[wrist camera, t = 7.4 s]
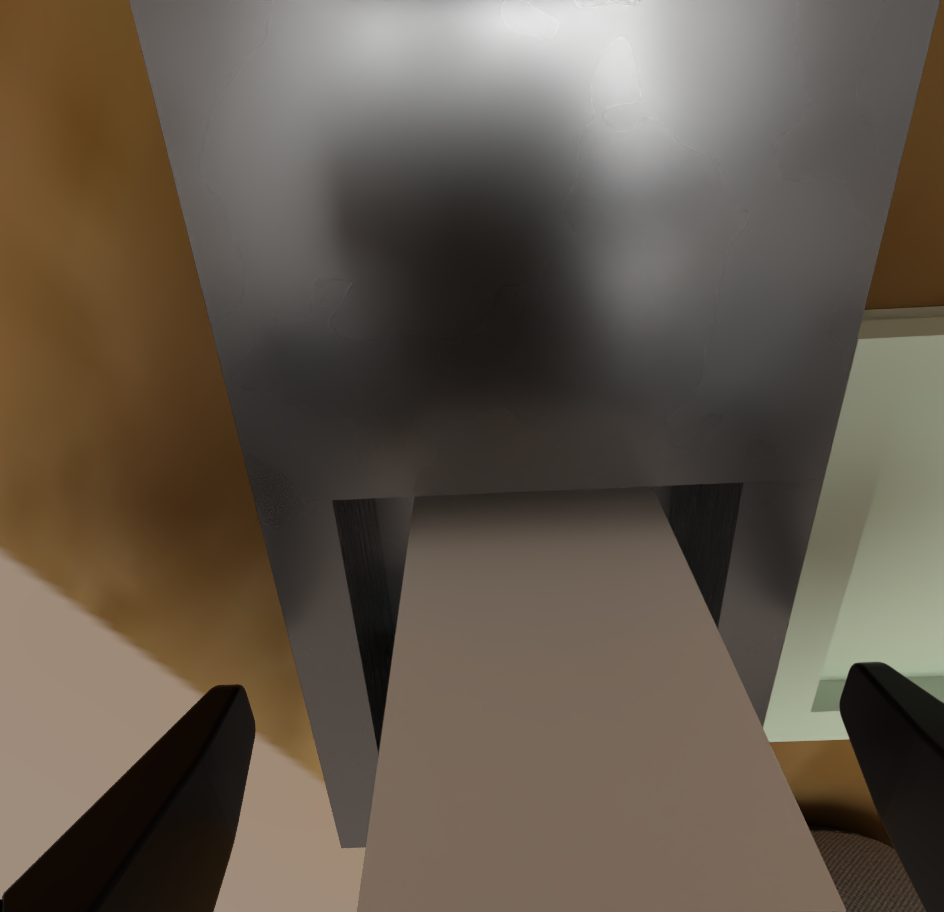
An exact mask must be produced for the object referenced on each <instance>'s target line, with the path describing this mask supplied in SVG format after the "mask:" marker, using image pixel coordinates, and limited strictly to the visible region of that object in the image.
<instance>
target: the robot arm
mask: <svg viewBox="0 0 944 912" xmlns="http://www.w3.org/2000/svg"><path fill="white" fill-rule="evenodd" d="M839 708H840V714H841V718H842V721H843V723H844V726H845V729H846V731H847V734H848V736H849V739H850V742H851V744H852V747H853V750H854V752H855V755H856V758H857V760H858V763H859V765H860V768H861V771H862V773H863V776H864V779H865V781H866V784H867V787H868V789H869V792H870V794H871V797H872V800H873V802H874V805H875V807H876V810H877V812H878V815H879V817H880V819H881V822H882V824H883V826H884V828H885V830H886V832H887V835H888V837H889V839H890V841H891V843H892V845H893V847H894V849H895V851H896V853H897V855H898V857H899V859H900V861H901V863H902V865H903V867H904V869H905V871H906V873H907V875H908V877H909V879H910V881H911V883H912V885H913V887H914V889H915V891H916V893H917V895H918V897H919V899H920V901H921V903H922V905H923V907H924V909H925V911H926V912H944V703H943V702H942V701H940V700H939V699H937V698H936V697H934V696H933V695H931V694H930V693H928V692H927V691H926V690H924V689H923V688H921V687H920V686H918V685H917V684H915V683H914V682H912V681H911V680H910V679H908V678H907V677H905V676H904V675H902V674H901V673H899V672H898V671H896V670H895V669H894V668H892V667H891V666H889V665H887V664H885V663H882V662H858V663H854V664H853V665H852V666H851V667H850V669H849V672H848V676H847V679H846V682H845V685H844V688H843V691H842V694H841V697H840V702H839ZM254 739H255V720H254V716H253V713H252V710H251V707H250V703H249V700H248V697H247V694H246V691H245V689H244V687H243V686H241V685H238V684H236V685H217V686H215V687H213V688H211V689H210V690H209V691H208V692H207V693H206V694H205V695H204V696H203V697H202V698H201V699H200V700H199V701H198V702H197V703H196V704H195V705H194V706H193V707H192V708H191V709H190V710H189V711H188V712H187V713H186V714H185V715H184V716H183V717H182V718H181V719H180V720H179V721H178V722H177V723H176V724H175V725H174V726H173V727H172V728H171V729H170V730H169V731H168V732H167V733H166V734H165V735H164V736H162V738H160V739H159V740H158V741H157V742H156V743H155V744H154V745H153V746H152V747H151V749H149V750H148V751H147V752H146V753H145V755H143V756H142V757H141V758H140V759H139V760H138V761H137V762H136V763H135V764H134V765H133V766H132V767H131V768H130V769H129V770H128V771H127V772H126V773H125V774H124V775H123V776H122V777H121V778H120V779H119V780H118V781H117V782H116V783H115V784H114V785H113V786H112V787H111V788H110V789H109V790H108V791H107V792H106V793H105V794H104V795H103V796H102V797H101V798H100V799H99V800H98V801H97V802H96V803H95V804H94V805H93V806H92V807H91V808H90V809H89V810H88V811H87V812H85V813H84V814H83V815H82V816H81V817H80V818H79V819H78V820H77V821H76V822H75V823H74V824H73V825H72V826H71V827H70V828H69V829H68V830H67V831H66V832H65V833H64V834H63V835H62V836H61V837H60V838H59V839H58V840H57V841H56V842H55V843H54V844H53V845H52V846H51V847H50V848H49V849H48V850H47V851H46V852H45V853H44V854H43V855H42V856H41V857H40V858H39V859H38V860H37V861H36V862H35V863H34V864H33V865H32V866H31V867H30V868H29V869H28V870H27V871H26V872H25V873H24V874H23V875H22V876H21V877H20V878H19V879H18V880H17V881H16V882H15V883H14V884H13V885H12V886H10V888H8V890H7V891H5V892H4V894H3V896H2V900H1V899H0V912H213V911H214V908H215V905H216V901H217V898H218V895H219V891H220V888H221V885H222V881H223V878H224V875H225V872H226V868H227V865H228V862H229V859H230V855H231V851H232V847H233V844H234V840H235V836H236V831H237V826H238V822H239V816H240V811H241V806H242V801H243V796H244V791H245V785H246V780H247V775H248V770H249V765H250V760H251V755H252V749H253V744H254Z"/></svg>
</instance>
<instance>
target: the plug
mask: <svg viewBox="0 0 944 912" xmlns="http://www.w3.org/2000/svg"><path fill="white" fill-rule="evenodd" d="M357 912H846V909H845V906H844V904H843V902H842V900H841V898H840V895H839V893H838V891H837V889H836V887H835V884H834V882H833V880H832V878H831V876H830V874H829V871H828V869H827V867H826V865H825V863H824V860H823V858H822V856H821V854H820V852H819V850H818V847H817V845H816V843H815V841H814V839H813V836H812V834H811V832H810V830H809V828H808V826H807V823H806V821H805V819H804V817H803V815H802V812H801V810H800V808H799V806H798V804H797V801H796V799H795V797H794V795H793V793H792V791H791V788H790V786H789V784H788V782H787V780H786V777H785V775H784V773H783V771H782V769H781V767H780V764H779V762H778V760H777V758H776V756H775V753H774V751H773V749H772V747H771V745H770V743H769V740H768V738H767V736H766V734H765V732H764V729H763V727H762V725H761V723H760V721H759V718H758V716H757V714H756V712H755V710H754V708H753V705H752V703H751V701H750V699H749V697H748V694H747V692H746V690H745V688H744V686H743V684H742V681H741V679H740V677H739V675H738V673H737V670H736V668H735V666H734V664H733V662H732V660H731V657H730V655H729V653H728V651H727V649H726V646H725V644H724V642H723V640H722V638H721V636H720V633H719V631H718V629H717V627H716V625H715V622H714V620H713V618H712V616H711V614H710V611H709V609H708V607H707V605H706V603H705V601H704V598H703V596H702V594H701V592H700V590H699V587H698V585H697V583H696V581H695V579H694V577H693V574H692V572H691V570H690V568H689V566H688V563H687V561H686V559H685V557H684V555H683V553H682V550H681V548H680V546H679V544H678V542H677V539H676V537H675V535H674V533H673V531H672V528H671V526H670V524H669V522H668V520H667V518H666V515H665V513H664V511H663V509H662V507H661V504H660V502H659V500H658V498H657V496H656V494H655V491H654V489H653V487H652V486H650V487H627V488H603V489H580V490H557V491H534V492H511V493H487V494H464V495H441V496H418V497H414V504H413V511H412V518H411V526H410V533H409V540H408V547H407V554H406V562H405V569H404V576H403V583H402V590H401V598H400V605H399V612H398V619H397V627H396V634H395V641H394V648H393V655H392V663H391V670H390V677H389V684H388V691H387V699H386V706H385V713H384V720H383V727H382V735H381V742H380V749H379V756H378V764H377V771H376V778H375V785H374V792H373V800H372V807H371V814H370V821H369V828H368V836H367V843H366V850H365V857H364V864H363V873H362V879H361V886H360V893H359V901H358V908H357Z"/></svg>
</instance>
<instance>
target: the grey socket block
mask: <svg viewBox="0 0 944 912" xmlns="http://www.w3.org/2000/svg"><path fill="white" fill-rule="evenodd" d="M939 2H940V0H130V4H131V8H132V12H133V16H134V20H135V24H136V28H137V32H138V36H139V40H140V44H141V48H142V52H143V56H144V60H145V64H146V68H147V72H148V76H149V80H150V84H151V88H152V92H153V96H154V100H155V104H156V108H157V112H158V116H159V120H160V124H161V128H162V132H163V136H164V140H165V144H166V148H167V152H168V156H169V160H170V164H171V168H172V172H173V176H174V180H175V184H176V188H177V192H178V196H179V200H180V204H181V208H182V212H183V216H184V220H185V224H186V228H187V232H188V236H189V240H190V244H191V248H192V252H193V256H194V260H195V264H196V268H197V272H198V276H199V280H200V284H201V288H202V292H203V296H204V300H205V304H206V308H207V312H208V316H209V320H210V324H211V328H212V332H213V336H214V340H215V344H216V348H217V352H218V356H219V360H220V364H221V368H222V372H223V376H224V380H225V384H226V388H227V392H228V396H229V400H230V404H231V408H232V412H233V416H234V420H235V424H236V428H237V432H238V436H239V440H240V444H241V448H242V452H243V456H244V460H245V464H246V468H247V472H248V476H249V480H250V484H251V488H252V492H253V496H254V500H255V504H256V508H257V512H258V516H259V520H260V524H261V528H262V532H263V536H264V540H265V544H266V548H267V552H268V556H269V560H270V564H271V568H272V572H273V576H274V580H275V584H276V588H277V592H278V596H279V600H280V604H281V608H282V612H283V616H284V620H285V624H286V628H287V632H288V636H289V640H290V644H291V648H292V652H293V656H294V660H295V664H296V668H297V672H298V676H299V680H300V684H301V688H302V692H303V696H304V700H305V704H306V708H307V712H308V716H309V720H310V724H311V728H312V732H313V736H314V740H315V744H316V748H317V752H318V756H319V760H320V764H321V768H322V772H323V776H324V780H325V784H326V788H327V792H328V796H329V800H330V804H331V808H332V812H333V816H334V820H335V824H336V828H337V832H338V836H339V840H340V844H341V848H356V847H357V848H358V847H366V843H367V836H368V828H369V821H370V814H371V807H372V800H373V792H374V785H375V778H376V771H377V764H378V756H379V749H380V742H381V735H382V727H383V720H384V713H385V706H386V699H387V691H388V684H389V677H390V670H391V663H392V655H393V648H394V641H395V634H396V627H397V619H398V612H399V605H400V598H401V590H402V583H403V576H404V569H405V562H406V554H407V547H408V540H409V533H410V526H411V518H412V511H413V504H414V497H418V496H441V495H464V494H487V493H511V492H534V491H557V490H580V489H603V488H627V487H650V486H652V487H653V489H654V491H655V494H656V496H657V498H658V500H659V502H660V504H661V507H662V509H663V511H664V513H665V515H666V518H667V520H668V522H669V524H670V526H671V528H672V531H673V533H674V535H675V537H676V539H677V542H678V544H679V546H680V548H681V550H682V553H683V555H684V557H685V559H686V561H687V563H688V566H689V568H690V570H691V572H692V574H693V577H694V579H695V581H696V583H697V585H698V587H699V590H700V592H701V594H702V596H703V598H704V601H705V603H706V605H707V607H708V609H709V611H710V614H711V616H712V618H713V620H714V622H715V625H716V627H717V629H718V631H719V633H720V636H721V638H722V640H723V642H724V644H725V646H726V649H727V651H728V653H729V655H730V657H731V660H732V662H733V664H734V666H735V668H736V670H737V673H738V675H739V677H740V679H741V681H742V684H743V686H744V688H745V690H746V692H747V694H748V697H749V699H750V701H751V703H752V705H753V708H754V710H755V712H756V714H757V716H758V718H759V721H760V723H761V725H762V727H763V723H764V719H765V715H766V711H767V707H768V703H769V699H770V695H771V691H772V687H773V683H774V678H775V674H776V670H777V666H778V662H779V658H780V654H781V650H782V646H783V642H784V637H785V633H786V629H787V625H788V621H789V617H790V613H791V609H792V605H793V601H794V596H795V592H796V588H797V584H798V580H799V576H800V572H801V568H802V564H803V560H804V555H805V551H806V547H807V543H808V539H809V535H810V531H811V527H812V523H813V519H814V514H815V510H816V506H817V502H818V498H819V494H820V490H821V486H822V482H823V478H824V474H825V469H826V465H827V461H828V457H829V453H830V449H831V445H832V441H833V437H834V433H835V428H836V424H837V420H838V416H839V412H840V408H841V404H842V400H843V396H844V392H845V387H846V383H847V379H848V375H849V371H850V367H851V363H852V359H853V355H854V351H855V346H856V342H857V338H858V334H859V330H860V326H861V322H862V318H863V314H864V310H865V305H866V301H867V297H868V293H869V289H870V285H871V281H872V277H873V273H874V269H875V264H876V260H877V256H878V252H879V248H880V244H881V240H882V236H883V232H884V228H885V224H886V219H887V215H888V211H889V207H890V203H891V199H892V195H893V191H894V187H895V183H896V178H897V174H898V170H899V166H900V162H901V158H902V154H903V150H904V146H905V142H906V137H907V133H908V129H909V125H910V121H911V117H912V113H913V109H914V105H915V101H916V96H917V92H918V88H919V84H920V80H921V76H922V72H923V68H924V64H925V60H926V55H927V51H928V47H929V43H930V39H931V35H932V31H933V27H934V23H935V19H936V15H937V10H938V6H939Z"/></svg>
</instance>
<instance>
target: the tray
mask: <svg viewBox="0 0 944 912" xmlns="http://www.w3.org/2000/svg"><path fill="white" fill-rule="evenodd" d="M858 662H882V663H885V664H887V665H889V666H891V667H892V668H894V669H895V670H896V671H898V672H899V673H901V674H902V675H904V676H905V677H907V678H908V679H910V680H911V681H912V682H914V683H915V684H917V685H918V686H920V687H921V688H923V689H924V690H926V691H927V692H928V693H930V694H931V695H933V696H934V697H936V698H937V699H939V700H940V701H942V702H943V703H944V306H934V307H913V308H893V309H872V310H864V314H863V318H862V322H861V326H860V330H859V334H858V338H857V342H856V346H855V351H854V355H853V359H852V363H851V367H850V371H849V375H848V379H847V383H846V387H845V392H844V396H843V400H842V404H841V408H840V412H839V416H838V420H837V424H836V428H835V433H834V437H833V441H832V445H831V449H830V453H829V457H828V461H827V465H826V469H825V474H824V478H823V482H822V486H821V490H820V494H819V498H818V502H817V506H816V510H815V514H814V519H813V523H812V527H811V531H810V535H809V539H808V543H807V547H806V551H805V555H804V560H803V564H802V568H801V572H800V576H799V580H798V584H797V588H796V592H795V596H794V601H793V605H792V609H791V613H790V617H789V621H788V625H787V629H786V633H785V637H784V642H783V646H782V650H781V654H780V658H779V662H778V666H777V670H776V674H775V678H774V683H773V687H772V691H771V695H770V699H769V703H768V707H767V711H766V715H765V719H764V723H763V729H764V732H765V734H766V736H767V738H768V740H769V742H784V741H813V740H843V739H849V736H848V734H847V731H846V729H845V726H844V723H843V721H842V718H841V714H840V708H839V702H840V697H841V694H842V691H843V688H844V685H845V682H846V679H847V676H848V672H849V669H850V667H851V666H852V665H853V664H854V663H858Z"/></svg>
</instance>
